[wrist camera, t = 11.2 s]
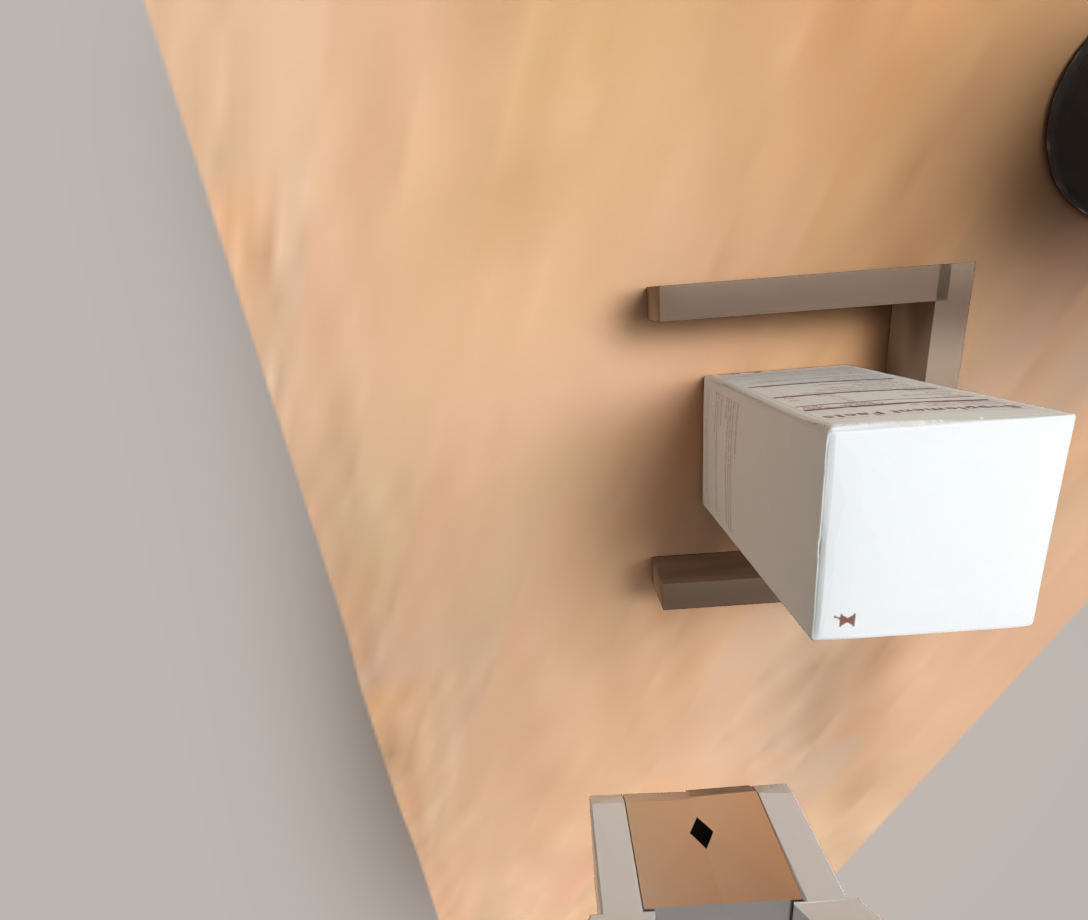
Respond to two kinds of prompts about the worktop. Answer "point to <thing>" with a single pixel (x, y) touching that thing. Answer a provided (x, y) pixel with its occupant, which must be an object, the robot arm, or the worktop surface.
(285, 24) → the worktop surface
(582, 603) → the worktop surface
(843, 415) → the supplement box
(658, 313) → the walnut corral
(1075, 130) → the milk frother
